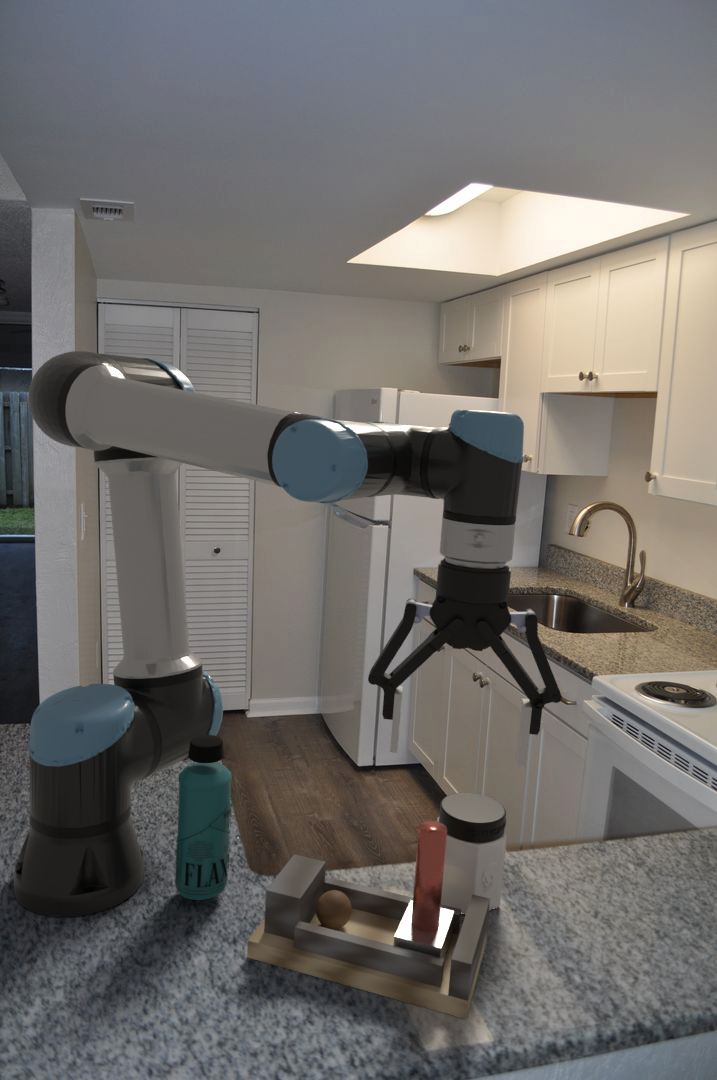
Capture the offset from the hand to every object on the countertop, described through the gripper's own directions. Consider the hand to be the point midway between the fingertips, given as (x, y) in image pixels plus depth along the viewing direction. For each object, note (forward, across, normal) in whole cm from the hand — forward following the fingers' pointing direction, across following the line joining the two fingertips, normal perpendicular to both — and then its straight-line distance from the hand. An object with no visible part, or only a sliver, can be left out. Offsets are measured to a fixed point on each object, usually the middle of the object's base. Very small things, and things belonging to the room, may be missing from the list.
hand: (457, 754), depth 88 cm
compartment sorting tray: (+23, -8, -2) cm, 25 cm away
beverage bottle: (+24, -29, +5) cm, 38 cm away
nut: (+21, -12, -1) cm, 24 cm away
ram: (+21, -2, -3) cm, 21 cm away
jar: (+24, +3, +11) cm, 26 cm away
